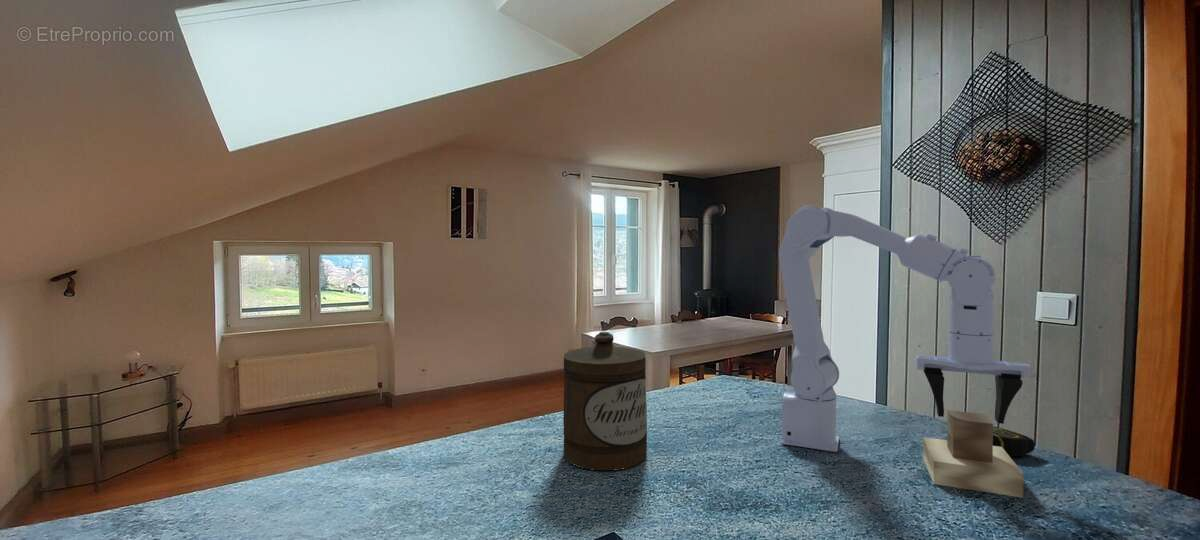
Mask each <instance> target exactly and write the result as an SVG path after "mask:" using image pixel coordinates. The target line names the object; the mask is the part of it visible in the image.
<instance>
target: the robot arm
mask: <svg viewBox="0 0 1200 540" xmlns="http://www.w3.org/2000/svg"><path fill="white" fill-rule="evenodd" d="M835 237H839V238H842V237H853V238H855V239H858V240H860V241H863V242H865V243H867V244H870V245H873V246H876V247H877V248H880V249H883V250H886V251H888V252H890V253H894V254H895V255H896V256H897V257H898V259H899V262H900V265H902V266H903V267H906V268H907V269H910V270H912V271H915V272H917V273H920V274H922V275H924V276H927V277H929V278H931V279H933V280H935V281H938V282H940V283H942V282H944V281H945V282H947V283H948V284H949V286H950V287H951V289H950V290H951V295H950V297H951V299H950V300H951V301H950V303H949V310H948V316H949V318H948V355H947V356H937V355H933V356H931V355H930V356H929V355H915V368H916V370H921V371H923V373H924V374H925V377H926V379H927V382H928V384H929V386H930V389H931V392H932V394H933V398H934V401H935V406H936V415H937V416H938V417H941V418H944V416H945V406H944V388H945V387H944V386H945V385H944V384H945V377H944V372H943V371H945V372H955V373H957V372H958V373H968V374H980V375H992V376H994V379H995V380H994V381H995V405H994V406H995V407H994V420H995V421H996V422H997V424H1000V425H1001V424H1002V425H1003V424H1005V420H1006V419H1005V417H1006V414H1007V412H1008V409H1009V407H1010V405H1011V403H1012V401H1013V400H1014V398H1015V397H1016V394H1017V393H1018V392H1019V391H1020V390H1021V388H1022V386H1023V380H1022V379H1028V380H1029V379H1031V365H1029V364H1027V363H1025V362H1024V363H1023V362H1012V361H1005V360H1004V361H1003V360H997V359H996V360H995V359H994V338H995V337H994V336H995V335H994V333H995V330H994V328H995V326H994V325H995V304H994V303H993V301H994V299H995V298H994V295H995V294H994V292H993V288H992V286H993V285H994V283H995V281H996V271H995V268H994V266H993V264H992V263H990V262H989V261H988V260H987V259H985V258H983V257H981V255H967V254H968V253H969V250H968V249H966V248H963V247H961V248H960V249H958V248H957V247H956V248H955V247H953V246H951V245H948V244H945V243H943V242H940V241H938V240H937V238H938V237H937V236H936V235H933V234H931V233H927V234H926V235H924V234H921V233H918V234H915V235H912V236H909V237H906V236H903V235H902V234H899V233H897V232H894V231H892V230H890V229H888V228H886V227H883V226H880V225H879V224H876V223H874V222H872V221H870V220H867V219H865V218H862V217H861V216H858V215H855V214H852V213H851V214H850V213H848V212H842V211H837V210H834V209H831V208H828V207H820V206H818V205H814V204H808V205H804V206H802V207H800V208H798V209H797V210H796V211H794V213H793V214H792V215H791V216H790V218H788V220H787V221H786V230H785V233H784V236H783V238H782V242H781V245H780V247H779V250H778V259H779V266H780V270H781V272H780V273H781V275H782V276H781V277H782V283H783V288H784V292H785V293H784V294H785V298H786V304H787V308H788V309H787V310H788V315H789V320H790V325H791V330H792V336H793V342H794V349H793V352H792V356H791V363H792V370H791V373H790V377H789V378H790V380H789V381H790V384H791V387H792V389H793V390H794V391H793V392H786V391H785V392H784V393H783V396H782V402H781V403H782V405H781V444H782V445H788V446H793V447H799V448H800V447H802V448H808V449H813V450H814V449H815V450H819V451H820V450H821V451H827V452H834V453H837V452H838V450H839V449H838V448H839V442H840V441H839V440H840V436H839V435H838V434H837V393H836V391H835V389H834V386H835V385H837V383H838V381H839V379H840V369H839V367H838V365H837V363H836V362H835V361H834V359H833V358H832V355H831V350H830V348H829V346H828V345H827V344H826V342H825V340H824V335H823V329H822V322H821V318H820V314H819V313H820V312H819V309H818V303H817V302H818V301H817V298H816V292H815V287H814V282H813V275H812V271H811V270H812V269H811V267H810V266H811V265H810V262H809V261H810V259H811V257H812V256H813V255H814V254H815V253H816V251H818V249H819V248H820V247H821V246H822V245H824V244H826V243H828V242H829V241H830V240H832V239H833V238H835Z"/></svg>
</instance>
